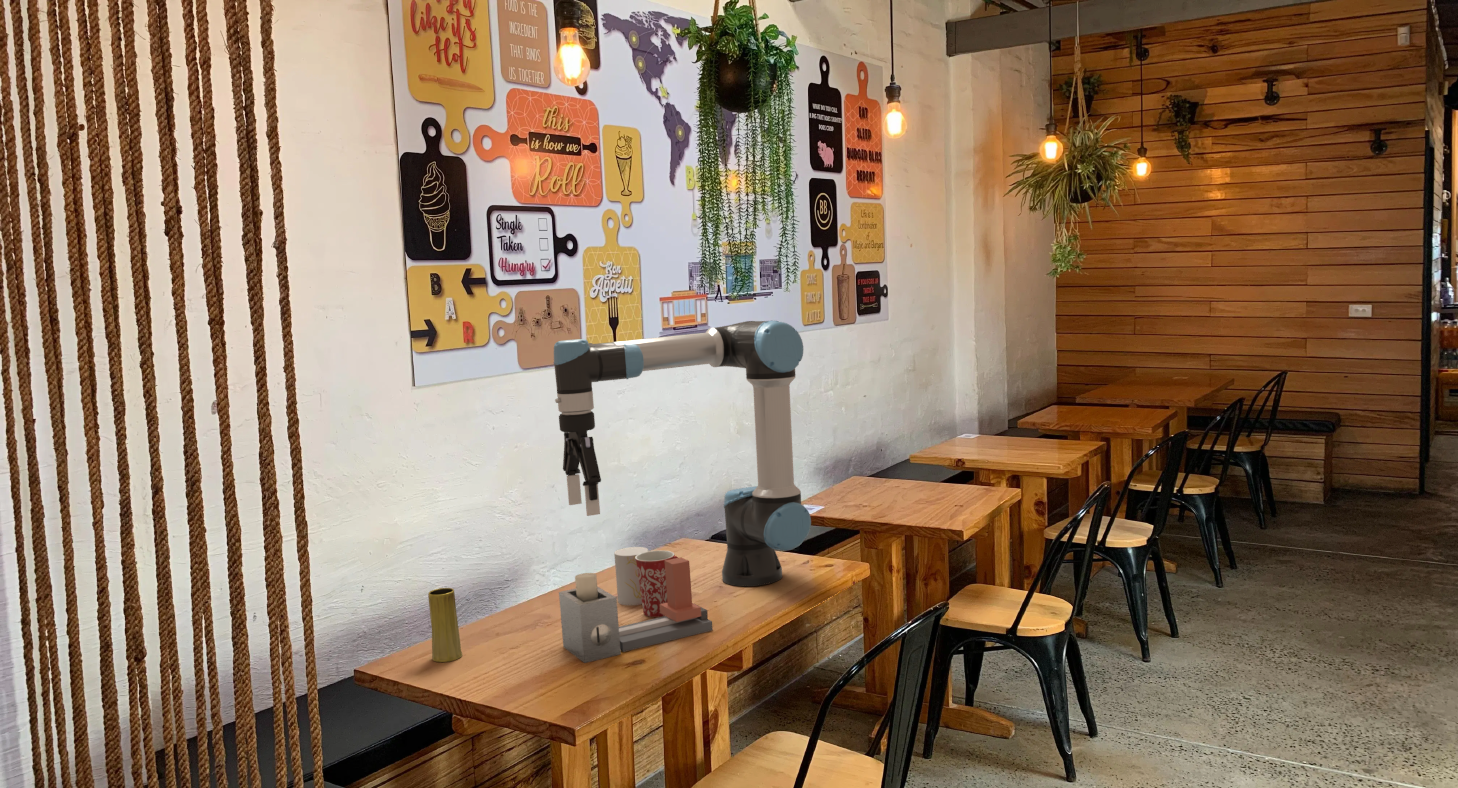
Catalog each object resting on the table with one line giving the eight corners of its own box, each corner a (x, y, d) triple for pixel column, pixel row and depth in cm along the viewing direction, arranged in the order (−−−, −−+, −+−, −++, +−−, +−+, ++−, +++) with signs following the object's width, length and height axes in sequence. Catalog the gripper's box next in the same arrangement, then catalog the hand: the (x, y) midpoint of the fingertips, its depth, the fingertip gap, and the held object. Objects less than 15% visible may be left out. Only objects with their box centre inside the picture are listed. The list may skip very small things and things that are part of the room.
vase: (437, 653, 227) (431, 587, 226) (465, 651, 227) (459, 586, 225) (428, 663, 221) (422, 596, 220) (457, 661, 221) (451, 594, 219)
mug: (661, 620, 239) (656, 562, 238) (631, 615, 245) (626, 557, 244) (696, 605, 249) (692, 548, 248) (667, 600, 255) (663, 544, 253)
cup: (631, 607, 251) (627, 557, 250) (611, 601, 257) (607, 552, 256) (658, 599, 256) (655, 550, 255) (638, 593, 262) (634, 545, 261)
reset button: (593, 594, 224) (591, 571, 224) (601, 599, 221) (599, 576, 220) (573, 598, 222) (571, 575, 222) (581, 603, 218) (579, 580, 218)
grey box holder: (598, 638, 230) (594, 584, 228) (622, 655, 219) (617, 598, 217) (563, 647, 226) (558, 591, 225) (585, 663, 215) (580, 606, 214)
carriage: (684, 607, 237) (680, 554, 236) (701, 616, 230) (697, 561, 229) (660, 612, 234) (656, 559, 233) (676, 621, 227) (672, 567, 226)
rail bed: (691, 618, 239) (690, 601, 239) (712, 630, 231) (711, 612, 230) (604, 639, 229) (603, 621, 229) (623, 651, 221) (621, 633, 220)
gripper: (544, 409, 238) (552, 502, 241) (575, 419, 216) (584, 522, 218) (576, 405, 241) (584, 497, 244) (611, 415, 219) (619, 516, 221)
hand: (584, 509), depth 231 cm, fingers open, 13 cm apart
